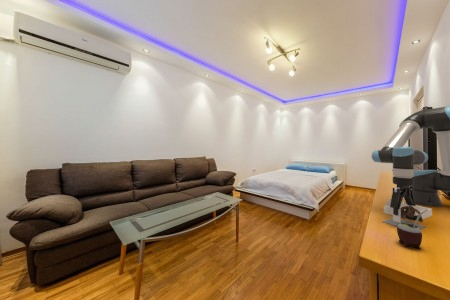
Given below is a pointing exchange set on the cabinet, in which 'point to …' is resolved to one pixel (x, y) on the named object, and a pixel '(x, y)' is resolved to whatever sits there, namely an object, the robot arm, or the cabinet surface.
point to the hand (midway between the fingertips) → (403, 219)
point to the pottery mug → (410, 213)
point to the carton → (390, 210)
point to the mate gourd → (410, 233)
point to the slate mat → (391, 222)
